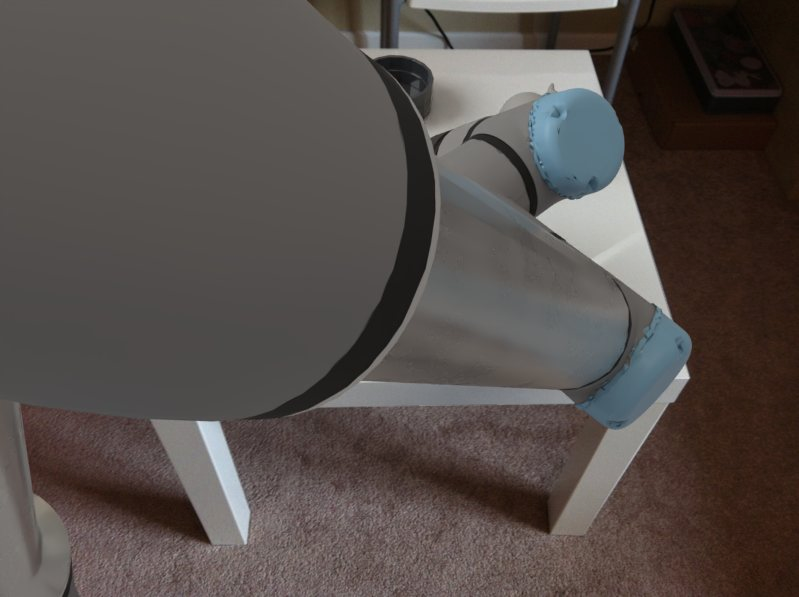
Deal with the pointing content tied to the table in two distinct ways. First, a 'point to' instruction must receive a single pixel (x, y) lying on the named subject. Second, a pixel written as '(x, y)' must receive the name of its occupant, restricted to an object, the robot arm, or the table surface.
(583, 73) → the table surface
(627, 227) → the table surface
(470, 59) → the table surface
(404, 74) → the dark grey round container
